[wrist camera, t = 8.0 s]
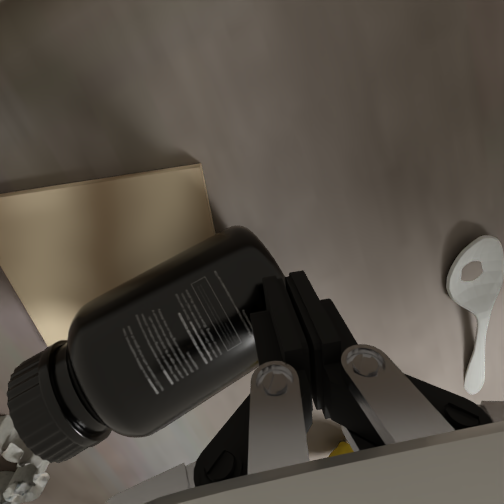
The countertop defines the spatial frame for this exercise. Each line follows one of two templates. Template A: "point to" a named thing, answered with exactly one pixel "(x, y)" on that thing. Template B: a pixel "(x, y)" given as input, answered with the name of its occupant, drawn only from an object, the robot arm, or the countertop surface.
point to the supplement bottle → (146, 349)
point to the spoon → (477, 298)
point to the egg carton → (19, 467)
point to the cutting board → (96, 237)
